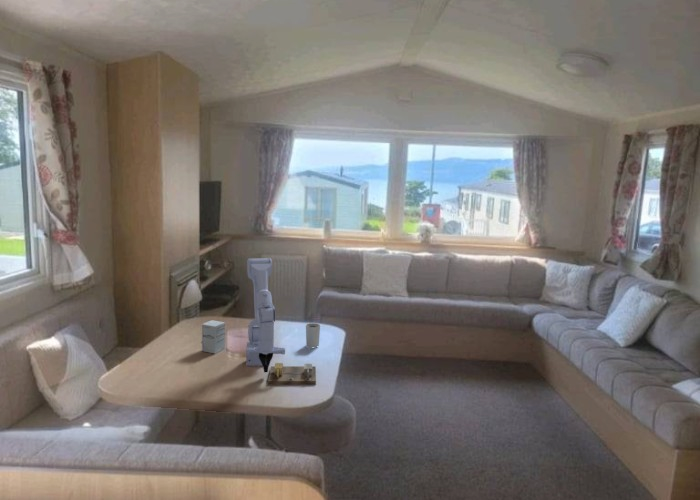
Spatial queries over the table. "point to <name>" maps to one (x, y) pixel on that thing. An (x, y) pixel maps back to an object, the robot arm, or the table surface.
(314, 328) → the drinking glass
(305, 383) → the gauge board
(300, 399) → the table surface
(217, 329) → the supplement box
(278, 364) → the brass leg
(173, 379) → the table surface
